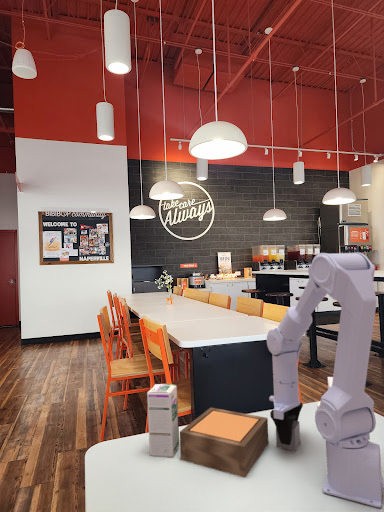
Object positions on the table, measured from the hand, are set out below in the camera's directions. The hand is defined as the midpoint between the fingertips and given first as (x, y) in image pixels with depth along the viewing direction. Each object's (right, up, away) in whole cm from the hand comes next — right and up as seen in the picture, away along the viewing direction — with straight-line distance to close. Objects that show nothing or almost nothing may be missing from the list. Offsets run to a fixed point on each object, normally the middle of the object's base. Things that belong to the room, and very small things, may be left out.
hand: (288, 438), depth 82 cm
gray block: (0, -1, 0) cm, 1 cm away
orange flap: (-15, +3, -2) cm, 15 cm away
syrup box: (-29, -3, -1) cm, 29 cm away
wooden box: (-15, -2, -2) cm, 15 cm away
